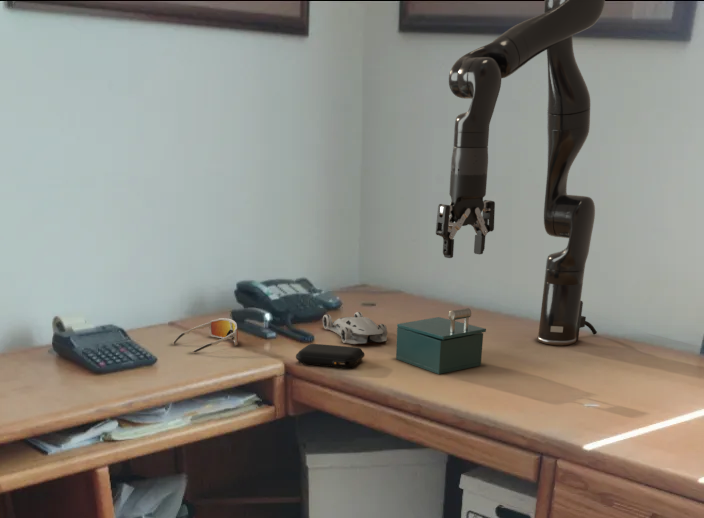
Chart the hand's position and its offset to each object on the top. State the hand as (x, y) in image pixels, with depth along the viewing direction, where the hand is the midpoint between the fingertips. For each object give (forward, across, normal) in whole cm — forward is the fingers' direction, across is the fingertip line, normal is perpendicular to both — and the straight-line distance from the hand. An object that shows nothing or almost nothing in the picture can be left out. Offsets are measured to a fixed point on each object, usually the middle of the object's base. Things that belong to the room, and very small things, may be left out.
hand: (463, 255), depth 201 cm
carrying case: (+24, -21, +20) cm, 38 cm away
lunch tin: (+24, 0, +6) cm, 25 cm away
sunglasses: (+24, -36, +52) cm, 67 cm away
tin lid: (+17, 0, +6) cm, 18 cm away
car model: (+24, -1, +38) cm, 45 cm away
